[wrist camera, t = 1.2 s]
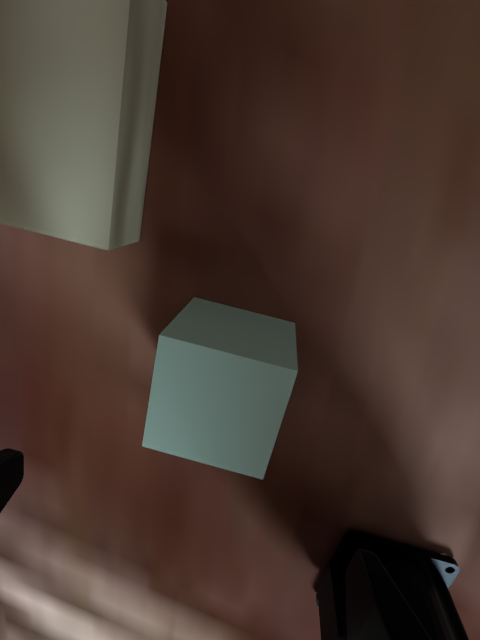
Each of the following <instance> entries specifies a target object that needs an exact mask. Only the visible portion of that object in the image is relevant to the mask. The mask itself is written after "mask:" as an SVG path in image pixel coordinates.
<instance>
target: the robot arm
mask: <svg viewBox="0 0 480 640" xmlns="http://www.w3.org/2000/svg"><path fill="white" fill-rule="evenodd" d="M23 475H24V456H23V453H22V452H20V451H17V450H13V449H9V448H8V449H4V450H1V451H0V513H1V511H2V510H3V508H4V507H5V505H6V504H7V502H8V501H9V500H10V498H11V497H12V495H13V494H14V492H15V491H16V489H17V488H18V487H19V485H20V483H21V482H22V479H23ZM459 571H460V570H459V567H458V565H457V562H456V561H455V560H454V559H453V558H451V557H447V556H444V555H440V554H437V553H433V552H430V551H426V550H422V549H419V548H415V547H412V546H408V545H405V544H401V543H398V542H394V541H390V540H387V539H383V538H380V537H376V536H373V535H369V534H365V533H362V532H358V531H354V530H351V531H348V532H346V533H345V534H344V536H343V539H342V541H341V543H340V545H339V547H338V549H337V551H336V554H335V556H334V558H332V559H331V560H330V561H329V562H328V564H327V566H326V569H325V571H324V573H323V575H322V577H321V579H320V581H319V584H318V586H317V590H318V592H317V594H316V601H317V605H318V606H319V616H320V629H321V640H469V639H468V636H467V634H466V631H465V629H464V626H463V624H462V622H461V619H460V617H459V614H458V612H457V609H456V607H455V605H454V602H453V600H452V597H451V595H450V592H449V590H448V588H449V587H450V585H451V584H452V582H453V581H454V579H455V578H456V576H457V575H458V573H459Z"/></svg>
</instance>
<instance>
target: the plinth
mask: <svg viewBox="0 0 480 640" xmlns="http://www.w3.org/2000/svg"><path fill="white" fill-rule="evenodd" d="M166 11H167V2H166V0H0V223H1V224H5V225H9V226H13V227H17V228H21V229H25V230H29V231H33V232H37V233H41V234H45V235H49V236H53V237H56V238H60V239H64V240H68V241H72V242H76V243H80V244H84V245H88V246H92V247H96V248H100V249H104V250H108V251H109V250H112V249H115V248H119V247H122V246H125V245H129V244H132V243H135V242H139V241H140V232H141V224H142V215H143V207H144V198H145V190H146V181H147V173H148V164H149V156H150V147H151V139H152V130H153V122H154V113H155V105H156V96H157V88H158V79H159V71H160V62H161V54H162V45H163V37H164V28H165V20H166Z"/></svg>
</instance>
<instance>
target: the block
mask: <svg viewBox="0 0 480 640" xmlns="http://www.w3.org/2000/svg"><path fill="white" fill-rule="evenodd" d="M297 373H298V362H297V345H296V329H295V323H294V322H290V321H286V320H282V319H278V318H274V317H270V316H266V315H263V314H259V313H255V312H251V311H247V310H243V309H239V308H235V307H231V306H227V305H223V304H220V303H216V302H212V301H208V300H204V299H200V298H196V297H194V298H193V299H192V300H191V301H190V302H189V303H188V304H187V305H186V306H185V308H184V309H183V310H182V311H181V312H180V313H179V314H178V315H177V316H176V317H175V318H174V319H173V320H172V322H171V323H170V324H169V325H168V326H167V327H166V328H165V329H164V330H163V331H162V332H161V333H160V334H159V339H158V345H157V352H156V358H155V365H154V372H153V378H152V385H151V391H150V398H149V404H148V411H147V418H146V424H145V431H144V437H143V444H142V446H143V447H147V448H150V449H154V450H157V451H161V452H165V453H168V454H172V455H175V456H179V457H183V458H186V459H190V460H193V461H197V462H201V463H204V464H208V465H211V466H215V467H219V468H222V469H226V470H229V471H233V472H237V473H240V474H244V475H247V476H251V477H255V478H258V479H262V480H263V478H264V475H265V472H266V469H267V466H268V463H269V460H270V457H271V453H272V450H273V447H274V444H275V441H276V438H277V435H278V432H279V429H280V426H281V423H282V419H283V416H284V413H285V410H286V407H287V404H288V401H289V398H290V395H291V392H292V389H293V385H294V382H295V379H296V376H297Z"/></svg>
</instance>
